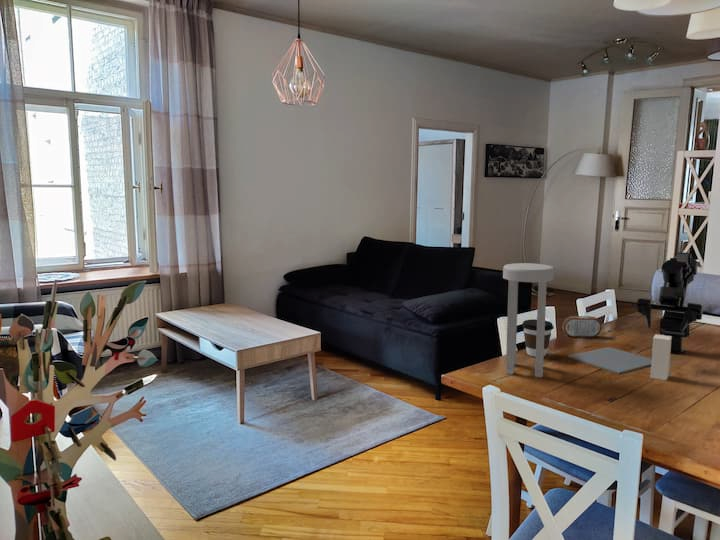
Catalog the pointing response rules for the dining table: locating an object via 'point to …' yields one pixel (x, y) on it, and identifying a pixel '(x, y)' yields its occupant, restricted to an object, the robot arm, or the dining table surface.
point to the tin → (581, 326)
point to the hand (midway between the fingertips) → (664, 329)
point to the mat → (612, 360)
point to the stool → (515, 275)
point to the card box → (660, 357)
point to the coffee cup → (531, 333)
